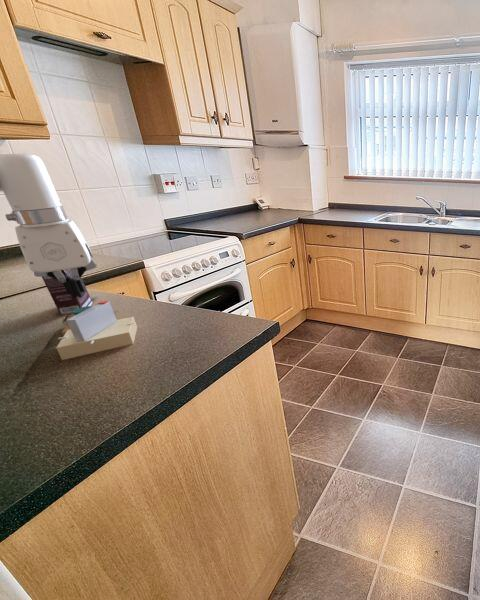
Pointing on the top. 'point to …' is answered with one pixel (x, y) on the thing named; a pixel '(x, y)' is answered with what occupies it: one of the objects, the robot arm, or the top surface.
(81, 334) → the pale blue rectangular brick
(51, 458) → the top surface
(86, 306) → the button
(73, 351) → the low beige pedestal
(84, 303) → the supplement box
